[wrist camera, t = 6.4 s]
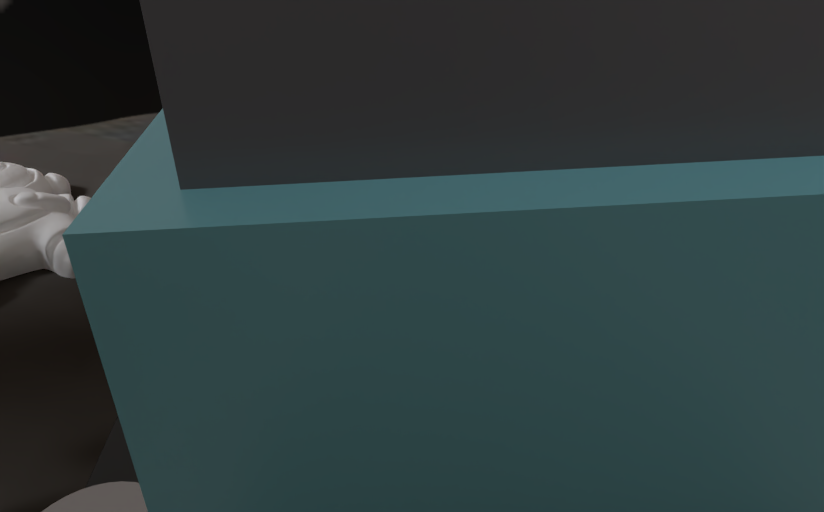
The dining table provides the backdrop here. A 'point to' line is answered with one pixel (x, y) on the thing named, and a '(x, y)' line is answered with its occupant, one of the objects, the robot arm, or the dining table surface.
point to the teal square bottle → (469, 257)
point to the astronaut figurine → (35, 221)
